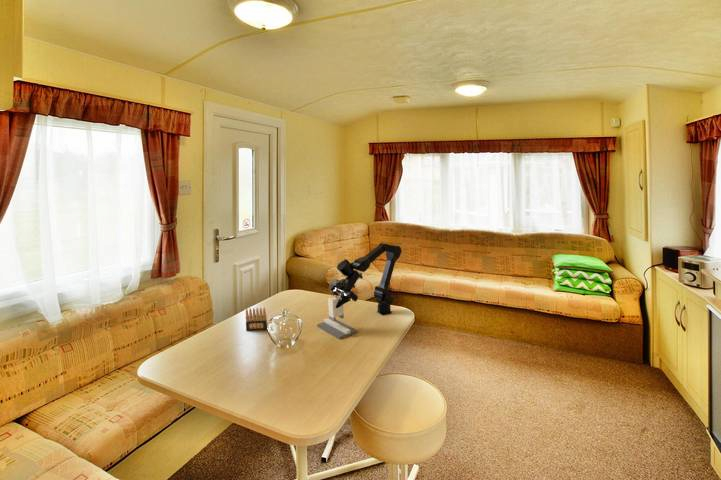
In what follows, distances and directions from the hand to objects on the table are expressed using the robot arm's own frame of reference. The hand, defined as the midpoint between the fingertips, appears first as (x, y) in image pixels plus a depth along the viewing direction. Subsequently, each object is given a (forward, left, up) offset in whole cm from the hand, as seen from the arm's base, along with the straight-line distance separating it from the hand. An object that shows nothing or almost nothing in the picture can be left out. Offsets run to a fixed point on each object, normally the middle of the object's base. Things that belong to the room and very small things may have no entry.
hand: (333, 306), depth 171 cm
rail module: (-1, 0, -7) cm, 7 cm away
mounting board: (-1, 0, -12) cm, 13 cm away
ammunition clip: (+34, -21, -13) cm, 42 cm away
